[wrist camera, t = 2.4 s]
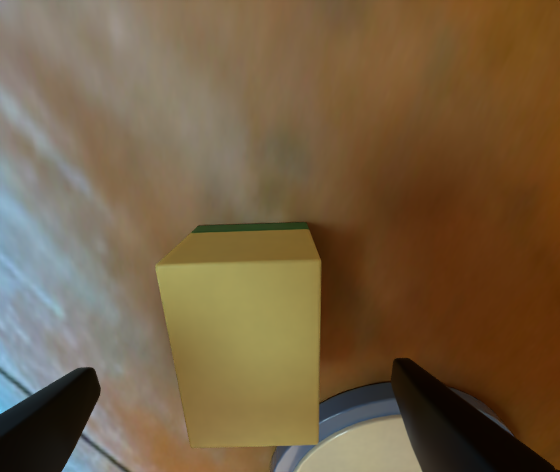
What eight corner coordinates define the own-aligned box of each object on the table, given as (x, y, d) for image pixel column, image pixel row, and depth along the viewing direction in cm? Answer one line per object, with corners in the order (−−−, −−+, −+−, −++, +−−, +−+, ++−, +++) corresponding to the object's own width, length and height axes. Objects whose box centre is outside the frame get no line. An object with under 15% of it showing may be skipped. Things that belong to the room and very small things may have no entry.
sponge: (307, 359, 13) (318, 446, 9) (216, 362, 13) (189, 449, 9) (306, 221, 11) (321, 259, 7) (197, 225, 11) (152, 265, 7)
